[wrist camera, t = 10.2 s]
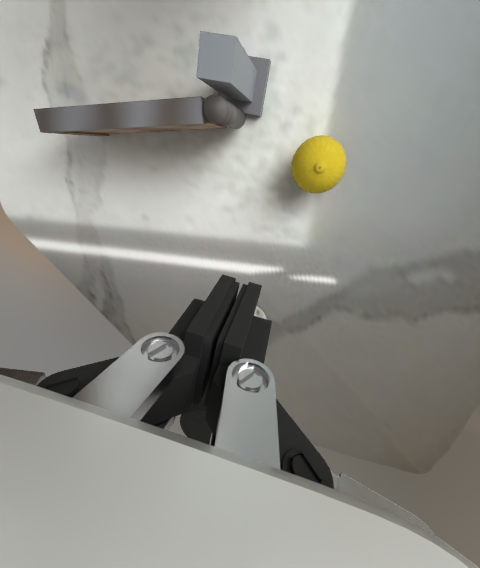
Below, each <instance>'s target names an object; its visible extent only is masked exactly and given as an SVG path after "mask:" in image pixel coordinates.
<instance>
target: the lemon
mask: <svg viewBox="0 0 480 568" xmlns="http://www.w3.org/2000/svg"><path fill="white" fill-rule="evenodd" d="M345 169H346V154H345V151H344V149H343V147H342V146H341V144H340V143H339V142H338V141H337V140H335V139H333V138H331V137H329V136H315V137H312V138H310V139H308V140H306V141H305V142H304V143H302V144H301V145H300V147H299V148H298V149H297V151H296V153H295V155H294V156H293V160H292V174H293V178H294V180H295V182H296V184H297V185H298V186H299V187H300V188H302V189H303V190H305V191H307V192H310V193H322V192H326V191H328V190H330V189H332V188H333V187H334V186H335V185H337V184H338V182H339V181H340V180H341V178H342V176H343V174H344V172H345Z"/></svg>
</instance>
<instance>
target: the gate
mask: <svg viewBox="0 0 480 568" xmlns="http://www.w3.org/2000/svg"><path fill="white" fill-rule="evenodd" d="M34 112H35V115H36V119H37V122H38V125H39V129H40V132H43V133H57V134H73V135H89V136H109V134H115V133H135V132H155V131H174V130H194V129H213V128H226V126H228V127H232V128H235V129H238V128H240V127H242V126H243V124H244V122H245V114H244V112H243V111H242V110H241V109H240V108H238V107H237V106H235V105H233V104H232V103H230V102H229V101H227V100H225V99H224V98H222V97H221V96H219V95H211V96H209V97H208V98H207V99H206V101H205V98H203V97H201V96H200V97H187V98H174V99H161V100H148V101H135V102H121V103H108V104H95V105H82V106H69V107H56V108H43V109H34Z"/></svg>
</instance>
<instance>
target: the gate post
mask: <svg viewBox="0 0 480 568" xmlns="http://www.w3.org/2000/svg"><path fill="white" fill-rule="evenodd" d="M270 64H271V61H270V59H264V58H257V57H251V56H248V55H247V53H246V52H245V50H244V48H243V47H242V45H241V43H240V42H239V40H238V38H237V37H236V36H229V35H223V34H216V33H209V32H202V31H200V40H199V54H198V67H197V78H199V79H200V80H202V81H203V82H205V83H206V84H208V85H209V86H211V87H212V88H214V89H215V90H217V91H218V92H219V96H221V97H222V98H224V99H225V100H227V101H229V102H230V103H232V104H233V105H235V106H237V107H238V108H240V109H241V110H242V111H243V112H244V113H245V114H250V115H256V116H261V115H262V110H263V104H264V98H265V92H266V87H267V81H268V75H269V69H270Z"/></svg>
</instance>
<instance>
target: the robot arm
mask: <svg viewBox="0 0 480 568" xmlns="http://www.w3.org/2000/svg"><path fill="white" fill-rule="evenodd" d="M261 287H262V286H261V285H258V284H254V283H251V282H249V284H248V285H245V284H243V285H242V288H241V290H240V292H239V294H238V296H237V293H238V288H239V283H238V282H235V278H233V277H229V276H226V275H222V276H221V278H220V279H219V281H218V282H217V284H216V285H215V287H214V288H213V290H212V291H211V293H210V294H209V296H208V298H207V299H206V301H202V300H199V299H194V300H193V301H192V302H191V304H190V305H189V306H188V308H187V309H186V311H185V312H184V313H183V315H182V316H181V317H180V319H179V320H178V321H177V323H176V324H175V326H174V327H173V328H172V330H171V331H170V332H169V333H153V334H150V335H147V336H145V337H143V338H142V339H140V340H139V341H138V342H137V343H136V344H135V345H133V346H132V347H131V348H130V349H129V350H128V351H126V352H125V353H124V354H123V355H122V356H121V357H117V358H113V359H109V360H105V361H101V362H97V363H93V364H89V365H85V366H81V367H77V368H73V369H68V370H64V371H61V372H58V373H55V374H52V375H50V376H48V377H45V373H44V372H35V371H25V370H17V369H8V368H0V568H478V567H477V566H476V565H475V564H473V563H472V562H470V561H469V560H468V559H467V558H465V557H464V556H463V555H461V554H460V553H459V552H457V551H456V550H455V549H453V548H452V547H451V546H449V545H448V544H447V543H445V542H444V541H442V540H440V539H439V538H437V537H436V536H435V534H434V533H433V532H432V531H431V530H430V528H429V527H428V526H427V525H426V524H425V523H424V522H422V521H421V520H420V519H419V518H417V517H416V516H415V515H413V514H412V513H410V512H408V511H406V510H405V509H403V508H401V507H399V506H398V505H396V504H394V503H392V502H391V501H389V500H387V499H386V498H384V497H382V496H381V495H379V494H377V493H375V492H374V491H372V490H370V489H368V488H367V487H365V486H363V485H362V484H360V483H358V482H356V481H355V480H353V479H351V478H349V477H348V476H346V475H344V474H343V473H341V474H340V475H339V476H337V475H336V474H334V473H333V472H331V471H330V468H329V467H328V465H327V464H326V462H325V460H324V459H323V458H322V456H321V455H320V454H319V452H318V451H317V450H316V449H315V447H314V446H313V445H312V444H311V442H310V441H309V440H308V439H307V437H306V436H305V435H304V433H303V432H302V431H301V430H300V428H299V427H298V426H297V425H296V423H295V422H294V421H293V419H292V418H291V417H290V416H289V414H288V413H287V412H286V411H285V409H284V408H283V407H282V406H281V404H280V403H279V402H278V400H277V399H276V391H275V380H274V376H273V374H272V372H271V371H270V369H269V368H268V367H267V366H266V365H264V360H265V354H266V349H267V344H268V339H269V334H270V328H271V323H272V321H271V320H267V319H264V318H260V317H257V316H254V313H255V309H256V306H257V302H258V298H259V295H260V291H261ZM236 297H237V299H236ZM207 386H208V388H207ZM206 389H207V393H206V398H205V403H204V407H205V408H207V410H206V415H205V419H206V421H207V423H208V425H209V427H210V429H211V431H212V434H211V439H210V445H208V444H205V443H202V442H199V441H197V440H194V439H191V438H188V437H185V436H182V435H179V434H176V433H173V432H170V431H169V429H170V428H171V426H172V425H173V423H174V421H175V417H176V416H177V415H180V414H182V413H185V412H188V413H191V410H192V408H193V406H194V404H196V405H200V403H201V401H202V398H203V396H204V394H205V391H206Z"/></svg>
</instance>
